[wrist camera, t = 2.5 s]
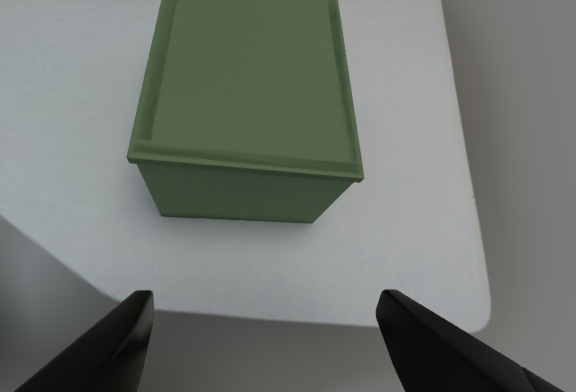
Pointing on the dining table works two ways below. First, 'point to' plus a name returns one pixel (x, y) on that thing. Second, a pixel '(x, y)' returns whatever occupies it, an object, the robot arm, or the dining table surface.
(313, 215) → the storage box
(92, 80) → the dining table surface
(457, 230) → the dining table surface
